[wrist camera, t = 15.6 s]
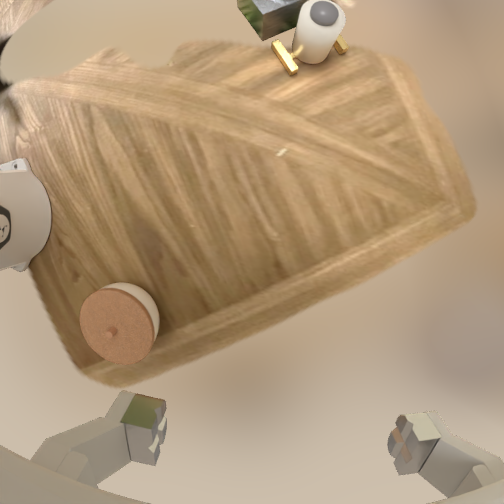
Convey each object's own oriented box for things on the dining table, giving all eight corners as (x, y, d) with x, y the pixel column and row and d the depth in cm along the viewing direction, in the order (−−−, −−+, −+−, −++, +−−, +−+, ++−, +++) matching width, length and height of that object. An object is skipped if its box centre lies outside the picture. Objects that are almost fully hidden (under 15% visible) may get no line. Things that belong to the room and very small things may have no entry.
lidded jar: (115, 342, 47) (90, 373, 38) (94, 279, 45) (62, 300, 36) (177, 335, 46) (160, 368, 37) (157, 267, 44) (133, 288, 35)
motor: (287, 77, 38) (293, 52, 29) (237, 7, 36) (233, -27, 27) (365, 45, 37) (386, 18, 28) (314, -21, 34) (324, -55, 25)
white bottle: (290, 60, 37) (299, 25, 27) (293, 30, 36) (302, -10, 26) (327, 66, 37) (347, 34, 27) (329, 36, 36) (348, -1, 26)
